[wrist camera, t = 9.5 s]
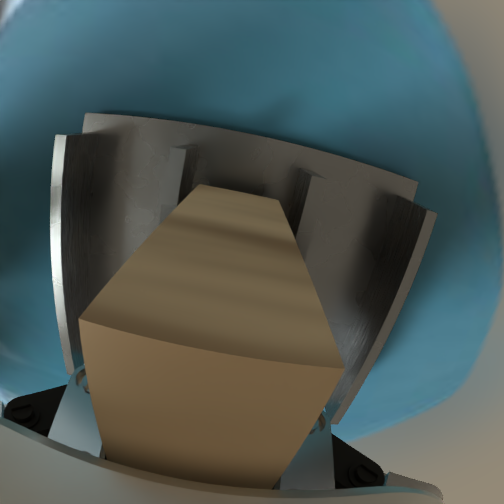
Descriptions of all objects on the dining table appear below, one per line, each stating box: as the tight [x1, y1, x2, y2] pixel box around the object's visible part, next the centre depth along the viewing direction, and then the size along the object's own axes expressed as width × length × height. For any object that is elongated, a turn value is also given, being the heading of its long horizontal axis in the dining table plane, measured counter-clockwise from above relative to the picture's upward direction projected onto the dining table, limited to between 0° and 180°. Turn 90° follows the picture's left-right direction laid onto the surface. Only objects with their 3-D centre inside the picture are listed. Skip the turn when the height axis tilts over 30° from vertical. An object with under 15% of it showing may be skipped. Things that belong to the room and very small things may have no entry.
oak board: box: [78, 184, 345, 490], centre depth 9 cm, size 10×3×10 cm, turn 168°
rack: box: [50, 113, 438, 424], centre depth 15 cm, size 15×17×4 cm
